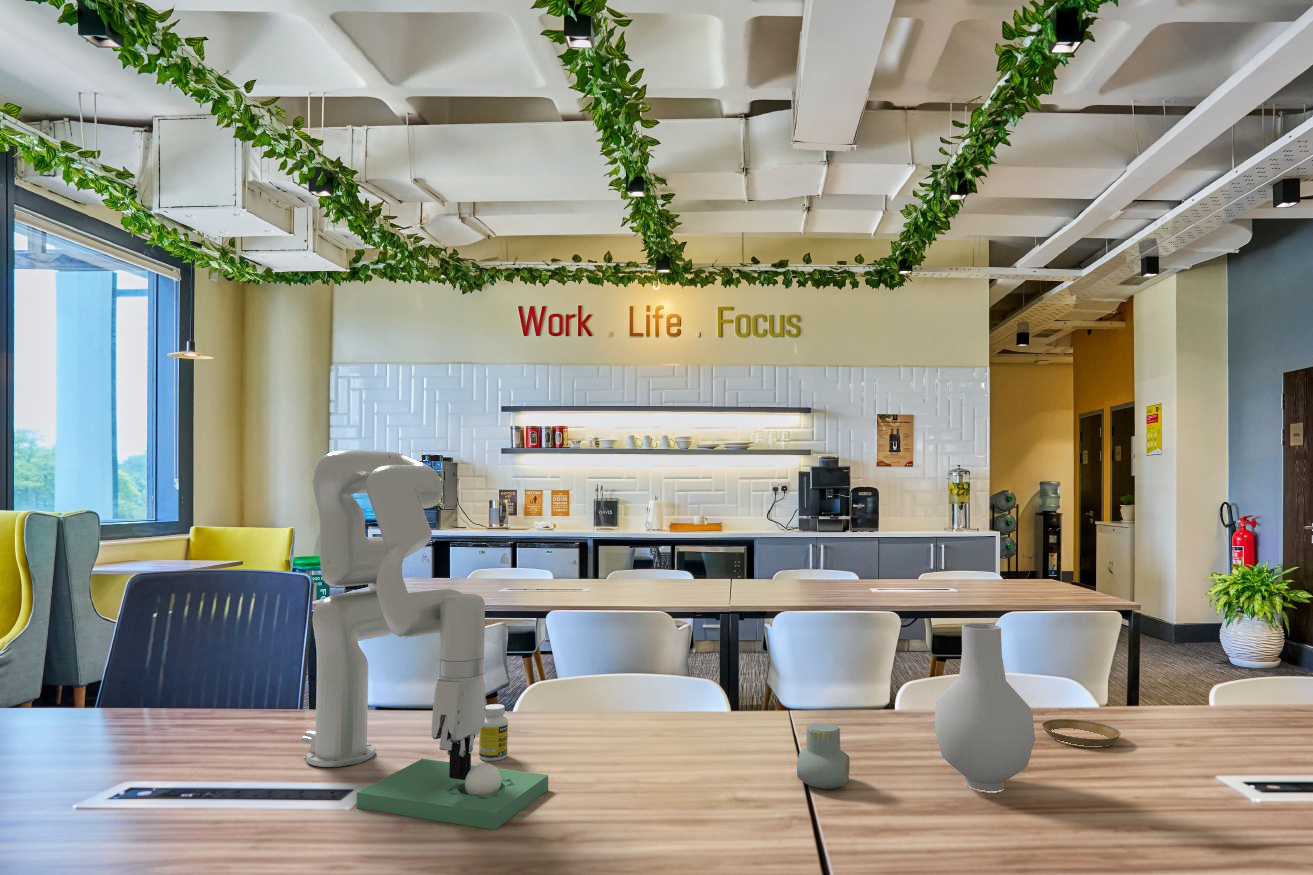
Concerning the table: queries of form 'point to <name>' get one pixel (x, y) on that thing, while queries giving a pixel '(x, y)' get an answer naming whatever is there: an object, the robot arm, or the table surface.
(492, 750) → the supplement bottle
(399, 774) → the mat
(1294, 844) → the table surface
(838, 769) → the air freshener
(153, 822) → the table surface
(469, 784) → the ball
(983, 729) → the vase
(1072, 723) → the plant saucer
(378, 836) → the table surface
